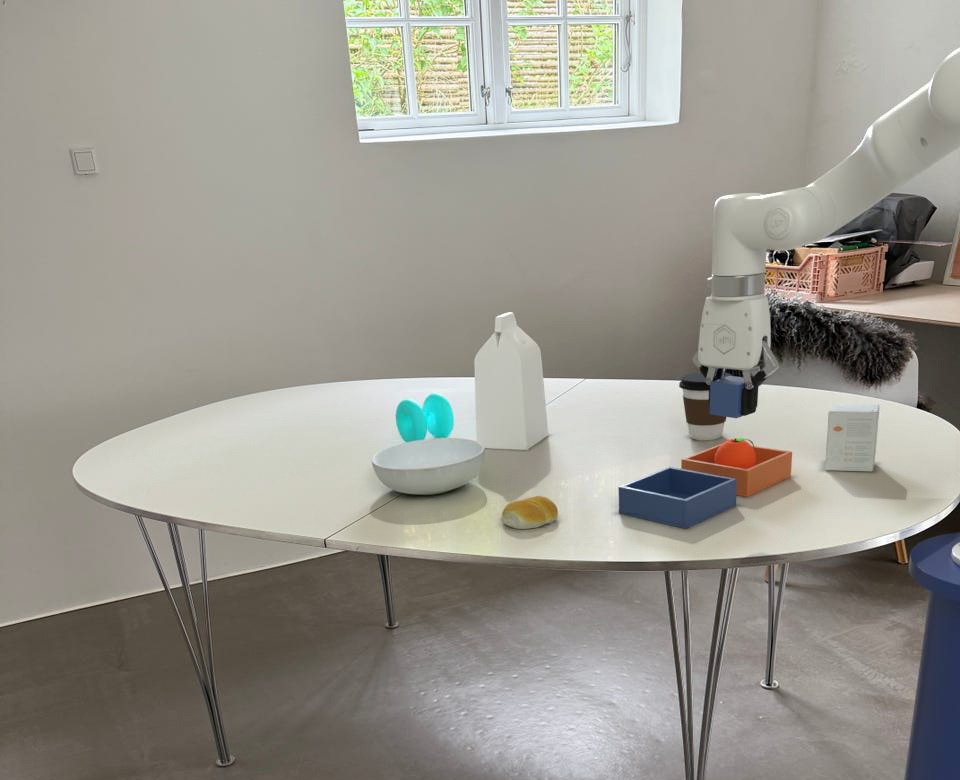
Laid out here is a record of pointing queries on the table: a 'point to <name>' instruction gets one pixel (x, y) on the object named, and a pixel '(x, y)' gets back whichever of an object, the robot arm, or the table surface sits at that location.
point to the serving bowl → (429, 465)
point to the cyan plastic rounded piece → (424, 418)
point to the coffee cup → (700, 408)
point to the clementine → (736, 454)
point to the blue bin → (677, 496)
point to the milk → (509, 389)
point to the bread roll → (530, 513)
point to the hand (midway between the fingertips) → (732, 410)
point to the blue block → (726, 396)
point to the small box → (852, 437)
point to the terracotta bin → (762, 475)
